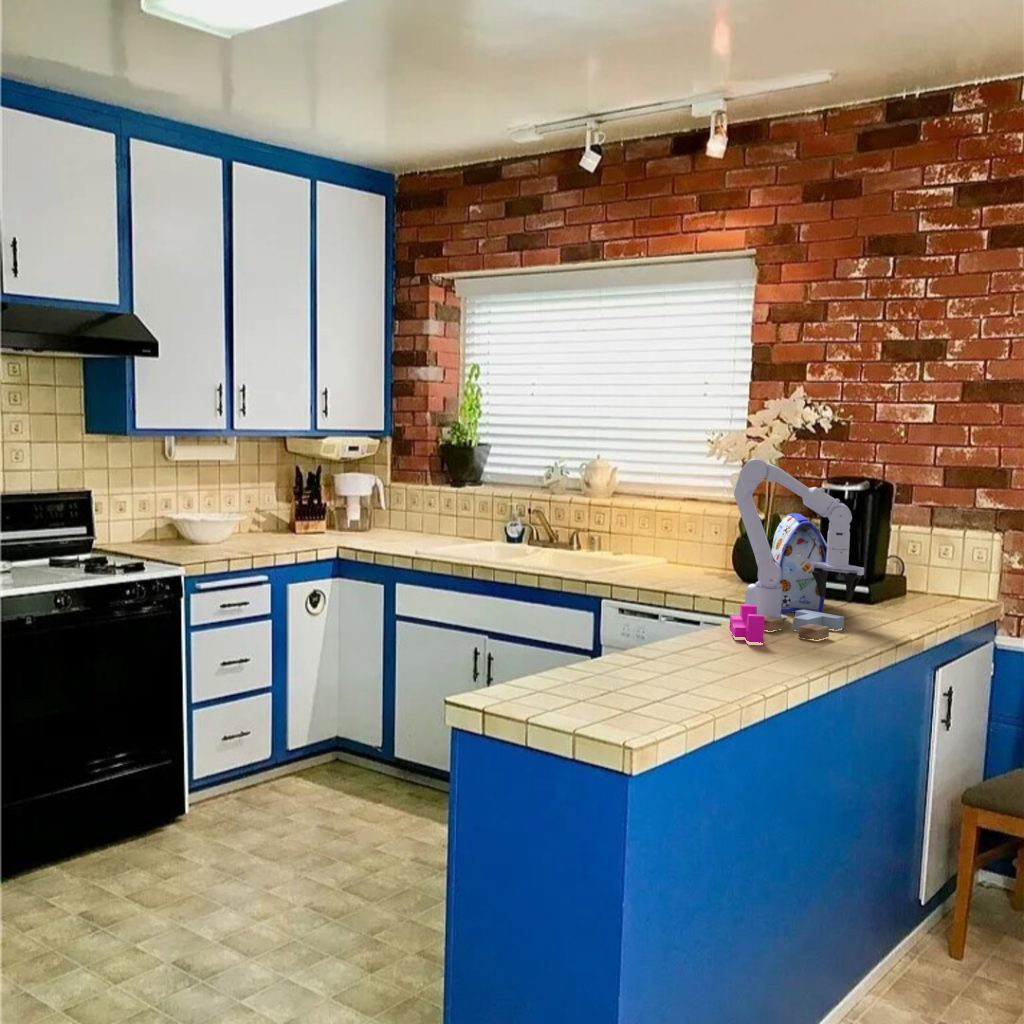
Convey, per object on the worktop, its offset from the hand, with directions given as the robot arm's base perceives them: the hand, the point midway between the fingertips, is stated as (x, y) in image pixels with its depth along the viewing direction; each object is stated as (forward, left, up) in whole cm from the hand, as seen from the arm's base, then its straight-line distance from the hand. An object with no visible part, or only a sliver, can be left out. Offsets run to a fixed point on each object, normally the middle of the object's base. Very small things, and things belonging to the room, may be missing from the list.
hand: (835, 598), depth 280 cm
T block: (0, -12, -7) cm, 14 cm away
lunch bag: (-19, +13, -7) cm, 24 cm away
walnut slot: (0, -23, -7) cm, 24 cm away
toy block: (-5, -36, -7) cm, 37 cm away
